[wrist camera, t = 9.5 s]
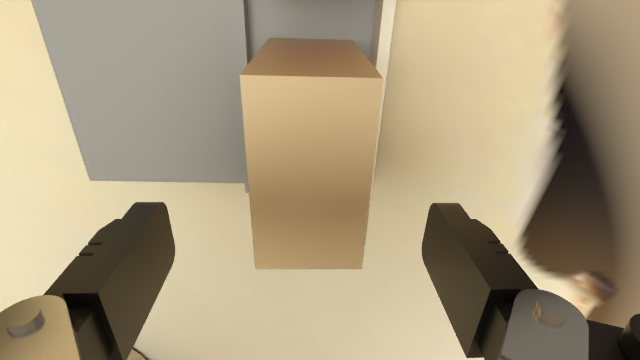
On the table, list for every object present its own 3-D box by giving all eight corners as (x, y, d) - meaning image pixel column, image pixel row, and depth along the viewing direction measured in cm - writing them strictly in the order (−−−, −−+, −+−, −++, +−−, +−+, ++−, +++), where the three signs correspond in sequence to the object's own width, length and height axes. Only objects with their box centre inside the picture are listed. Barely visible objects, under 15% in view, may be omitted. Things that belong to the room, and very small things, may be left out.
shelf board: (363, 174, 25) (371, 201, 22) (102, 169, 24) (71, 196, 21) (408, -239, 15) (433, -297, 12) (-31, -268, 14) (-125, -339, 11)
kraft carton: (355, 39, 19) (388, 78, 11) (345, 171, 23) (365, 269, 15) (268, 37, 19) (239, 75, 11) (274, 170, 23) (255, 268, 15)
